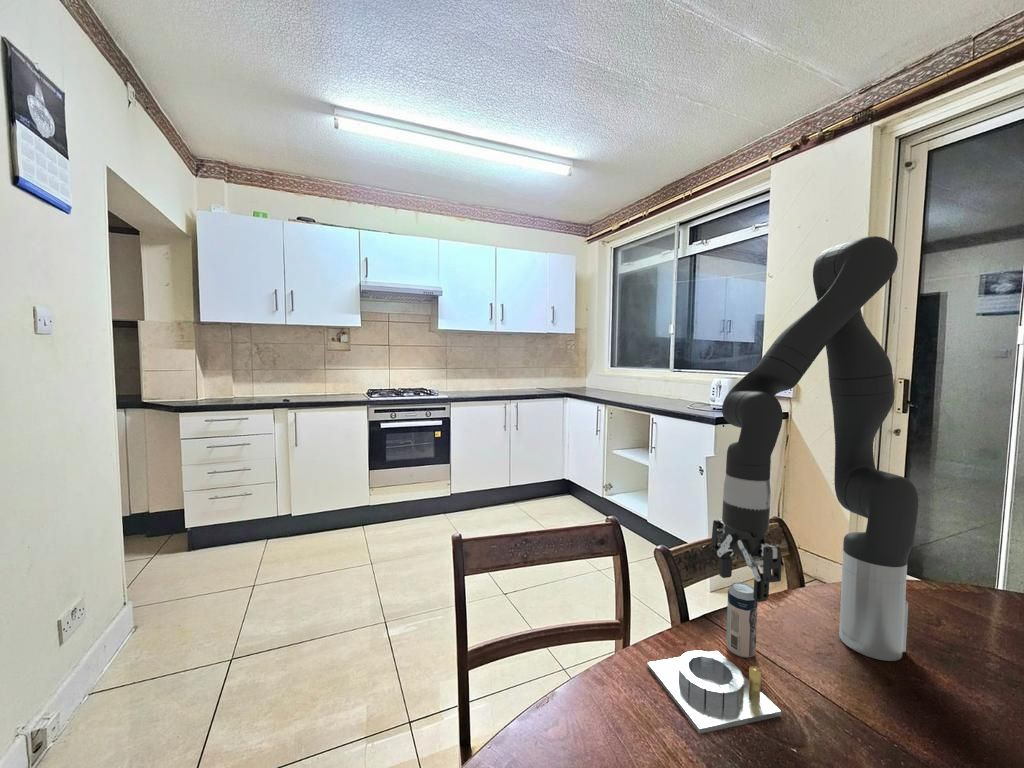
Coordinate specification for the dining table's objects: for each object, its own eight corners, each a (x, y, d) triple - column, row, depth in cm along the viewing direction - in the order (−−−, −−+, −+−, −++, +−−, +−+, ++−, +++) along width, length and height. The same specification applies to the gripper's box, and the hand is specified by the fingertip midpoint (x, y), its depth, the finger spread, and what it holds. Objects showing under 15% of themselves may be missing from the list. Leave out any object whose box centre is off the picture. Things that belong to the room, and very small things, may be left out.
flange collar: (717, 655, 79) (717, 629, 79) (781, 716, 66) (782, 685, 65) (647, 666, 76) (648, 640, 76) (699, 733, 62) (700, 701, 62)
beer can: (759, 661, 78) (761, 596, 77) (730, 657, 79) (732, 593, 78) (750, 644, 82) (752, 582, 82) (723, 641, 83) (725, 579, 83)
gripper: (797, 512, 73) (791, 607, 74) (735, 488, 87) (731, 568, 87) (759, 515, 71) (754, 612, 72) (702, 490, 85) (698, 571, 86)
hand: (741, 588), depth 80 cm, fingers open, 8 cm apart
